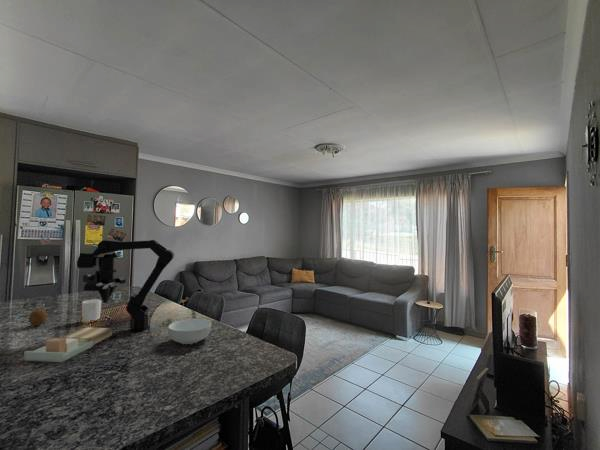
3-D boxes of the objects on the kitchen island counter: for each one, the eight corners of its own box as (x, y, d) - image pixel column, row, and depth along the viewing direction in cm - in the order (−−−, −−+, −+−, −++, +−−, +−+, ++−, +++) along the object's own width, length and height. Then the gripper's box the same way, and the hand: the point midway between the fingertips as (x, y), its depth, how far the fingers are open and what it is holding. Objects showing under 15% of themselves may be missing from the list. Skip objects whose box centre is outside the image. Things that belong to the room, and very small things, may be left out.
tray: (93, 346, 114) (93, 338, 114) (61, 362, 100) (62, 353, 100) (59, 344, 115) (60, 336, 115) (24, 360, 101) (24, 351, 101)
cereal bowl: (219, 337, 124) (219, 321, 125) (189, 352, 109) (190, 333, 109) (190, 331, 132) (190, 315, 132) (158, 344, 116) (158, 326, 117)
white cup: (90, 324, 139) (91, 303, 139) (77, 323, 140) (77, 302, 140) (104, 319, 146) (105, 299, 146) (91, 318, 148) (92, 298, 148)
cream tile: (78, 346, 112) (78, 338, 112) (66, 352, 107) (67, 343, 107) (65, 346, 112) (66, 338, 112) (54, 351, 107) (54, 343, 107)
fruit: (25, 327, 134) (26, 309, 134) (41, 323, 139) (42, 306, 140) (33, 329, 131) (33, 311, 131) (49, 324, 137) (50, 308, 137)
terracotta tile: (66, 338, 107) (59, 341, 104) (65, 352, 107) (58, 355, 104) (53, 337, 107) (45, 341, 104) (53, 351, 107) (45, 355, 104)
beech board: (111, 335, 125) (112, 328, 125) (91, 345, 114) (91, 338, 114) (85, 334, 126) (85, 327, 126) (62, 344, 115) (62, 337, 115)
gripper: (104, 265, 139) (103, 297, 139) (71, 270, 121) (70, 307, 121) (126, 265, 139) (125, 298, 138) (96, 271, 120) (95, 308, 120)
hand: (105, 302), depth 129 cm, fingers closed
